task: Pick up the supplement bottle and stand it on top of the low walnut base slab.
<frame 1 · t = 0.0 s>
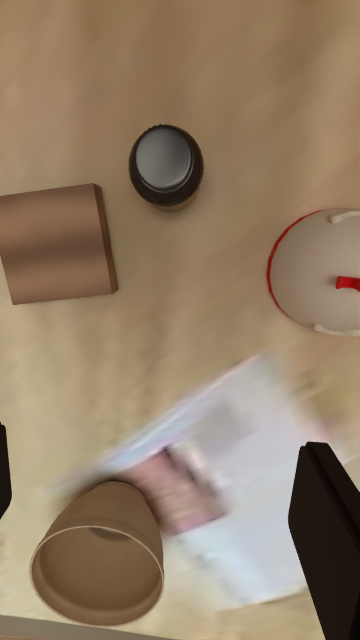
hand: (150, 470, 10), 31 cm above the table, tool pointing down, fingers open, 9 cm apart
supplement bottle: (171, 181, 37), on the table
planter bowl: (117, 505, 49), on the table
base block: (61, 246, 39), on the table
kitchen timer: (324, 270, 39), on the table
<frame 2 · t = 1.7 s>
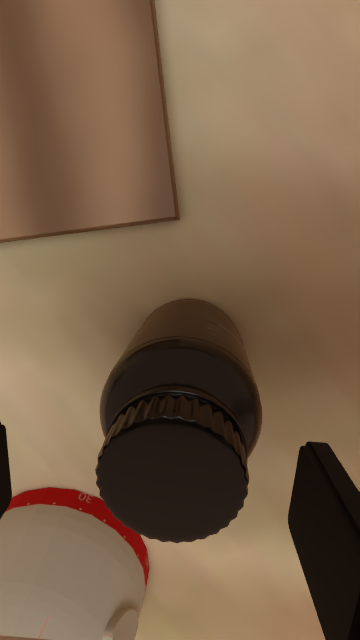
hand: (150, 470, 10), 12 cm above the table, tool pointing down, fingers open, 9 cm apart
supplement bottle: (188, 347, 22), on the table
base block: (62, 123, 19), on the table
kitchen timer: (66, 555, 27), on the table
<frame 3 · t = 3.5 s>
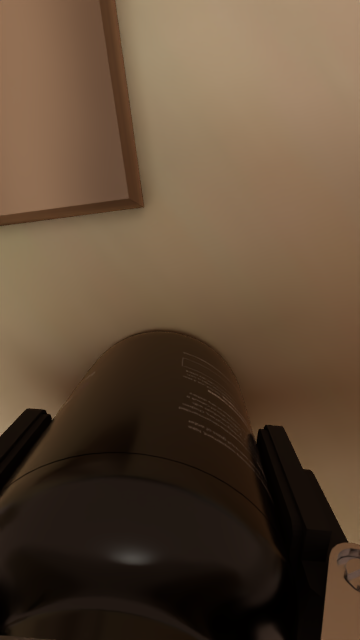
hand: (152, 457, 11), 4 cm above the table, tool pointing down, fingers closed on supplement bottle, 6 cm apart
supplement bottle: (163, 399, 15), on the table, touching gripper
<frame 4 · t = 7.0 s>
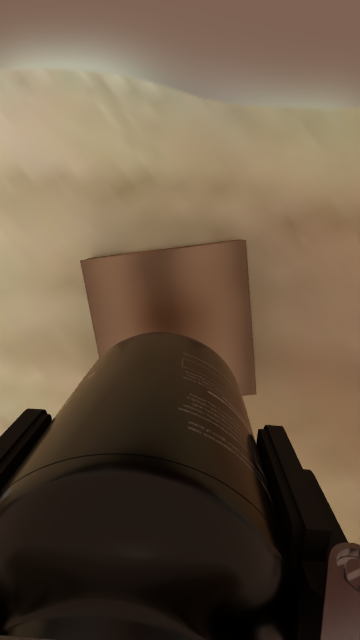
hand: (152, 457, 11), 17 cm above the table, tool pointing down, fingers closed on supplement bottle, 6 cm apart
supplement bottle: (163, 399, 15), point 14 cm above the table, touching gripper
base block: (174, 320, 28), on the table
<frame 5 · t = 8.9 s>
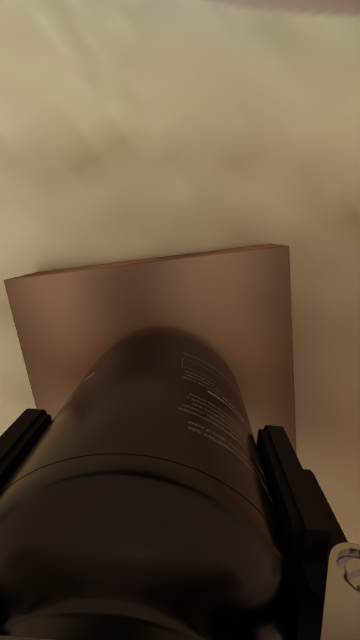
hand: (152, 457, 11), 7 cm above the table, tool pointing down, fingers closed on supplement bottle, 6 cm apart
supplement bottle: (162, 399, 15), point 3 cm above the table, touching gripper
base block: (166, 368, 18), on the table
when the fingers open (7 cm above the table, at t = 10.4 s): supplement bottle stays where it is, resting on base block.
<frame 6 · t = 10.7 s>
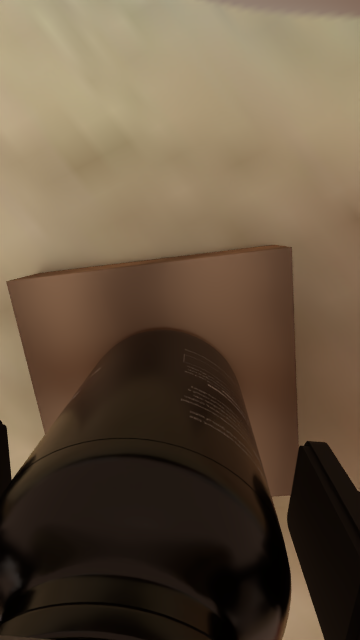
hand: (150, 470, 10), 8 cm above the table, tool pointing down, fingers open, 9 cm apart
supplement bottle: (165, 395, 15), point 3 cm above the table, touching base block
base block: (168, 369, 18), on the table
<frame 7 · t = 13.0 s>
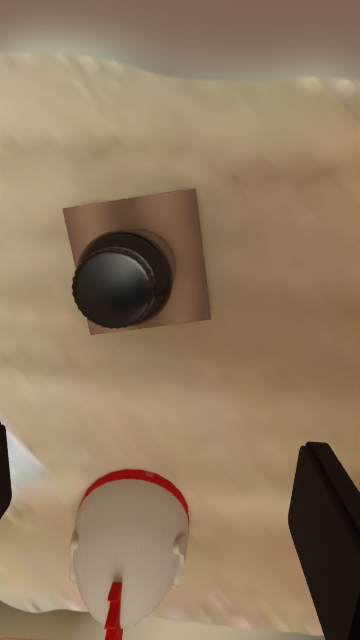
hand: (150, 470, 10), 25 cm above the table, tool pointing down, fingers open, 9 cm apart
supplement bottle: (140, 266, 31), point 3 cm above the table, touching base block
base block: (143, 263, 33), on the table
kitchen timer: (134, 513, 42), on the table
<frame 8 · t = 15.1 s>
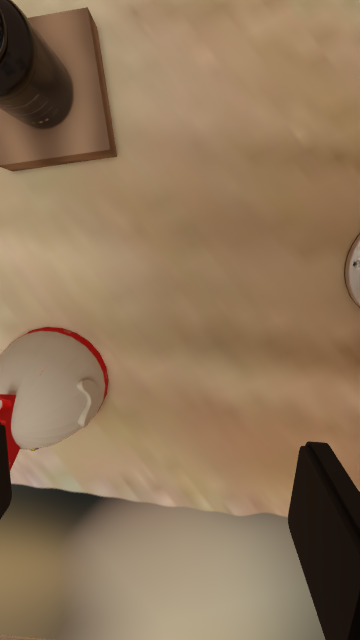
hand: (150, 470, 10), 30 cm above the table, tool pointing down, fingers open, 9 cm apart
supplement bottle: (41, 93, 32), point 3 cm above the table, touching base block
base block: (52, 103, 35), on the table
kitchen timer: (57, 376, 43), on the table
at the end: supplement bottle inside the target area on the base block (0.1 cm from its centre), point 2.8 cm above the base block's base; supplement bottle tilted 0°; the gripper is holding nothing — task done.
